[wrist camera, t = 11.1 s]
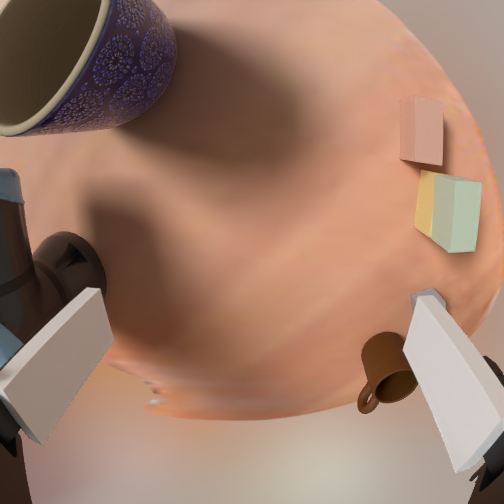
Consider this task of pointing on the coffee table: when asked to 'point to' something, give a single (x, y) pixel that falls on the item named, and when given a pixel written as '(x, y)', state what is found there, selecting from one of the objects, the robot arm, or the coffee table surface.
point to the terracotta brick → (421, 130)
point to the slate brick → (424, 293)
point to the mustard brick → (425, 202)
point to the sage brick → (456, 213)
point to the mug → (385, 372)
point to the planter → (81, 64)
